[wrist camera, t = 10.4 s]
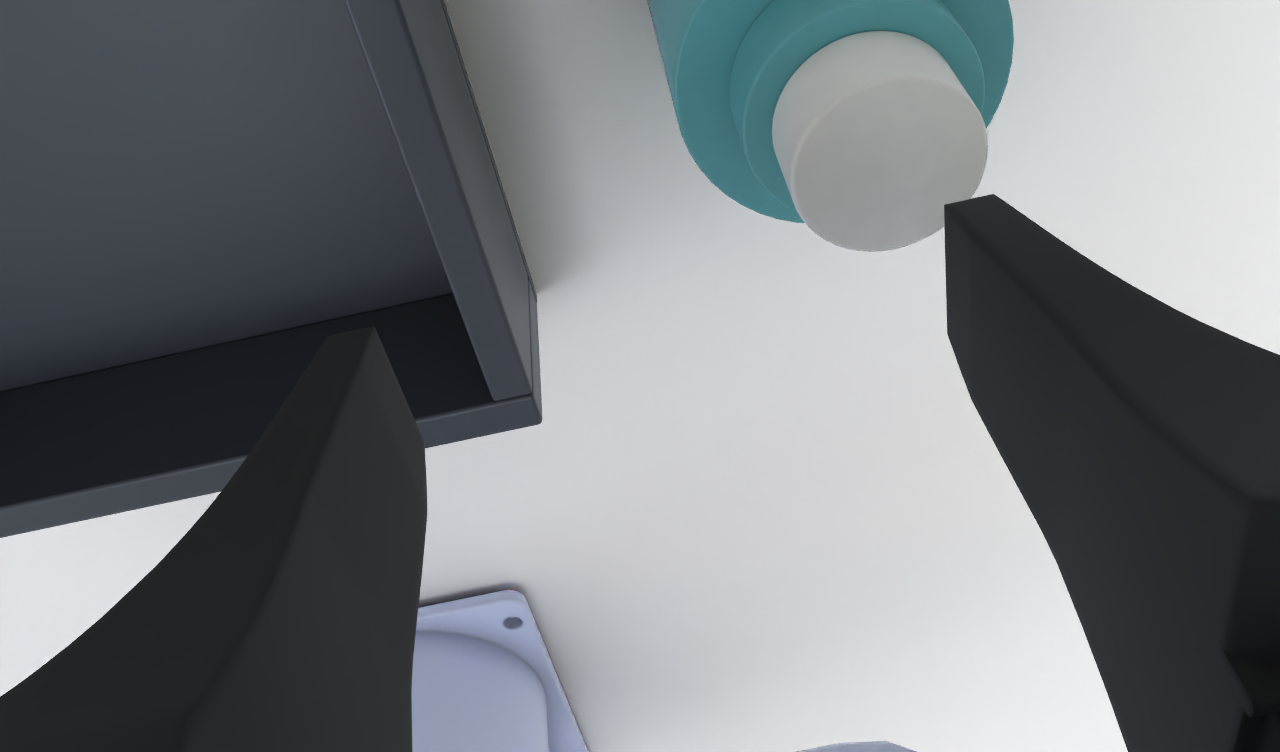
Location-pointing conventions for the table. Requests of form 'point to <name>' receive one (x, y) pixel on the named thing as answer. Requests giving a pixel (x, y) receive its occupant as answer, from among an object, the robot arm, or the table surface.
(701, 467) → the table surface
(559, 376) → the table surface
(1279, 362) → the robot arm
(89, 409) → the bin
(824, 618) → the table surface
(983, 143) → the bottle
